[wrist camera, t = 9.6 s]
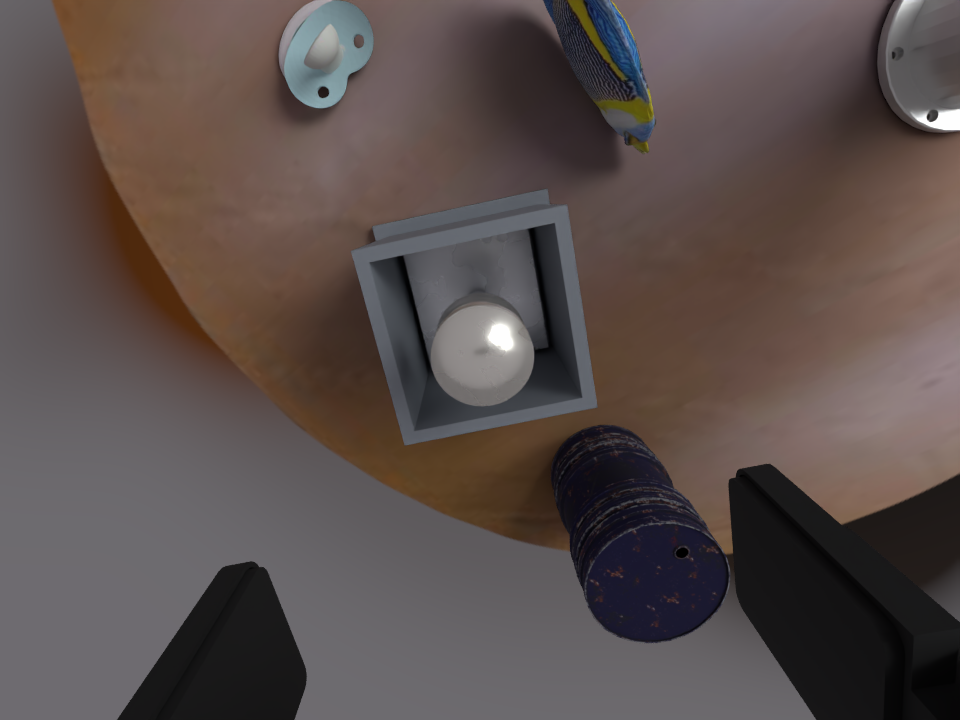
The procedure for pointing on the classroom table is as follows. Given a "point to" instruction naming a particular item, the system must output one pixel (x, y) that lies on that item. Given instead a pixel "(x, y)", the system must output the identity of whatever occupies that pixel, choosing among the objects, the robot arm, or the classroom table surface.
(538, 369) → the press housing
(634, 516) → the dark blue cylinder
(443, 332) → the plunger
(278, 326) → the classroom table surface
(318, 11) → the pacifier
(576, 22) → the tropical fish figurine
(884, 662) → the robot arm
